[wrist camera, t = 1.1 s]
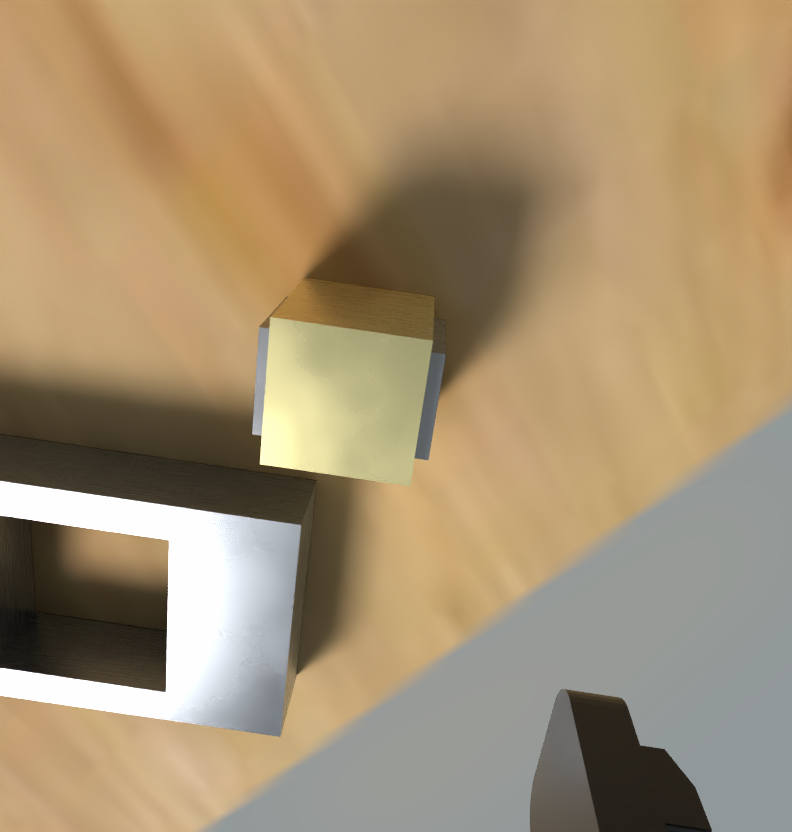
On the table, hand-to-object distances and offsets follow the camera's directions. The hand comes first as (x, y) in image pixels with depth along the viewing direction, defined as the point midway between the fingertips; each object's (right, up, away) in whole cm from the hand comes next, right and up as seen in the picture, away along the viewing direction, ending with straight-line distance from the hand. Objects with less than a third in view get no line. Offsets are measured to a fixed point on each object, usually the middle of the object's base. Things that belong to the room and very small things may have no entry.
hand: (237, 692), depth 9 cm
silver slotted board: (-12, -1, +17) cm, 21 cm away
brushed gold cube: (+1, +6, +14) cm, 15 cm away
